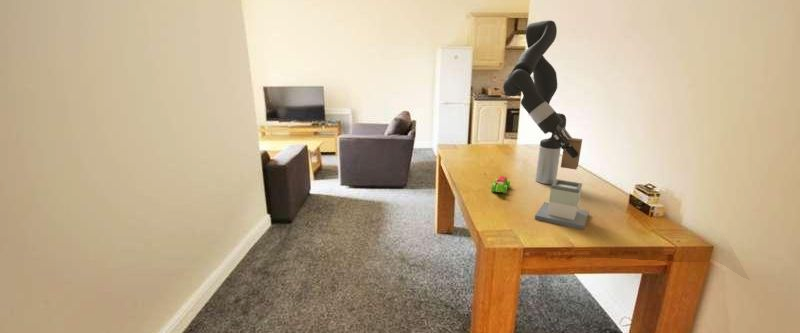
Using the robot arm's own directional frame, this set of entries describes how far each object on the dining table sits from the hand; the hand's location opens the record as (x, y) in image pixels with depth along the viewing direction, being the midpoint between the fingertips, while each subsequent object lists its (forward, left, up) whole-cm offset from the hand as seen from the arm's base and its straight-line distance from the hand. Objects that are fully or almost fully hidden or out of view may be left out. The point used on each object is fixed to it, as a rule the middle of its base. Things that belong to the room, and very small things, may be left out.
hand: (577, 154), depth 125 cm
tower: (0, -2, -24) cm, 24 cm away
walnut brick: (0, -2, -5) cm, 5 cm away
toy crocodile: (-17, -30, -24) cm, 42 cm away
